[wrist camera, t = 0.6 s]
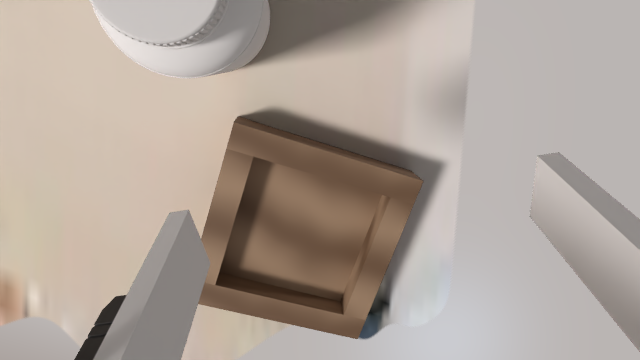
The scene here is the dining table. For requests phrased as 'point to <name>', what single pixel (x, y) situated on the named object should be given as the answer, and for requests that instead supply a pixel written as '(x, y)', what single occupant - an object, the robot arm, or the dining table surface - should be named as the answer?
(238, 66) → the pill bottle
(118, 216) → the dining table surface
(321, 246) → the tray
